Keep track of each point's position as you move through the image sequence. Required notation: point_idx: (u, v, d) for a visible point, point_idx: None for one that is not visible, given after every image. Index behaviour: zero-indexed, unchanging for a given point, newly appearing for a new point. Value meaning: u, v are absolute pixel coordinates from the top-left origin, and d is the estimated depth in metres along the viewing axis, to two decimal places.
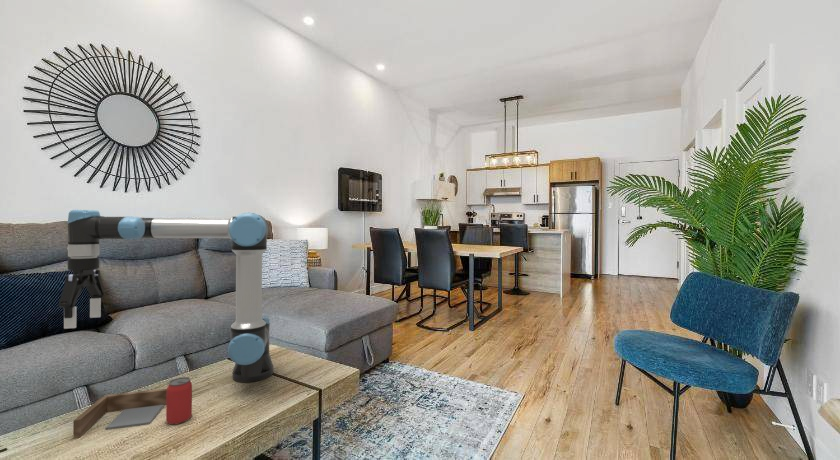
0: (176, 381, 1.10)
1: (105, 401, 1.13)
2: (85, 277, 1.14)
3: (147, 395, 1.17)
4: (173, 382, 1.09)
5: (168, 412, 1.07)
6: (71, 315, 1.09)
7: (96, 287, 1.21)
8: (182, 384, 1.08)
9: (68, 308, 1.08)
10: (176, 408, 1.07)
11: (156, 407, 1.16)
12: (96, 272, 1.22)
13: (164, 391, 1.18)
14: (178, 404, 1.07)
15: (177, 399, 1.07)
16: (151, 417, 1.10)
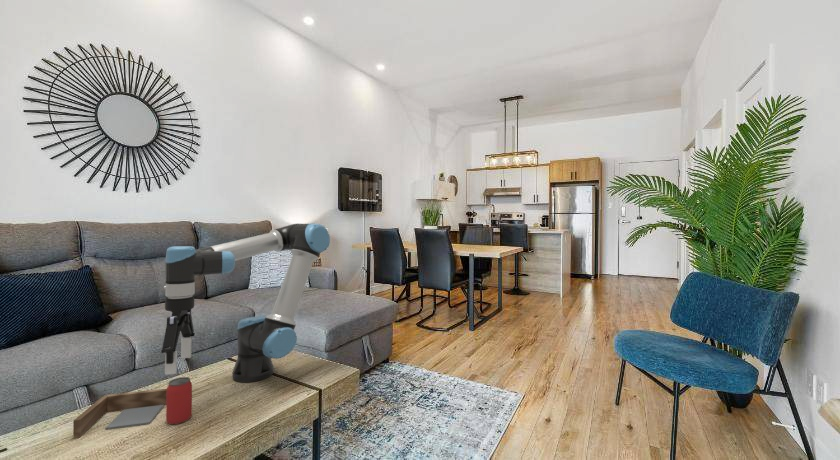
0: (176, 381, 1.10)
1: (105, 401, 1.13)
2: (182, 318, 1.08)
3: (147, 395, 1.17)
4: (173, 382, 1.09)
5: (168, 412, 1.07)
6: (172, 360, 1.03)
7: (188, 326, 1.15)
8: (182, 384, 1.08)
9: (170, 353, 1.02)
10: (176, 408, 1.07)
11: (156, 407, 1.16)
12: (188, 310, 1.15)
13: (164, 391, 1.18)
14: (178, 404, 1.07)
15: (177, 399, 1.07)
16: (151, 417, 1.10)
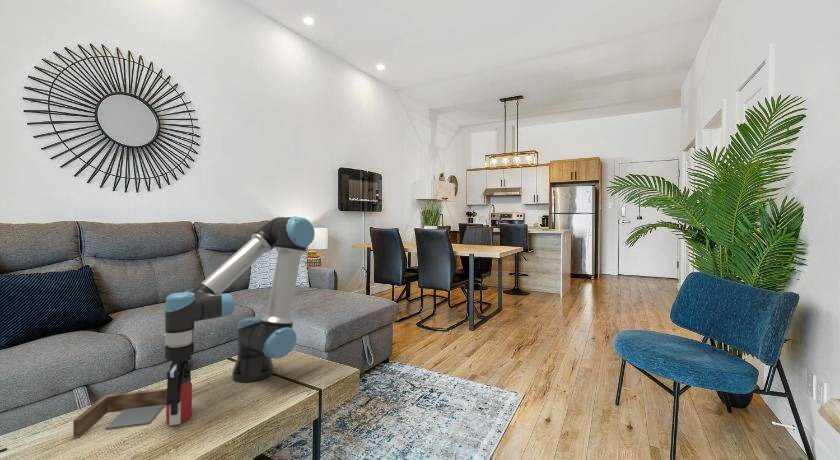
0: None
1: (105, 401, 1.13)
2: (182, 366, 1.08)
3: (147, 395, 1.17)
4: None
5: (168, 412, 1.07)
6: (177, 411, 1.06)
7: (187, 376, 1.13)
8: (182, 384, 1.08)
9: (174, 405, 1.05)
10: None
11: (156, 407, 1.16)
12: (188, 358, 1.15)
13: (164, 391, 1.18)
14: None
15: None
16: (151, 417, 1.10)
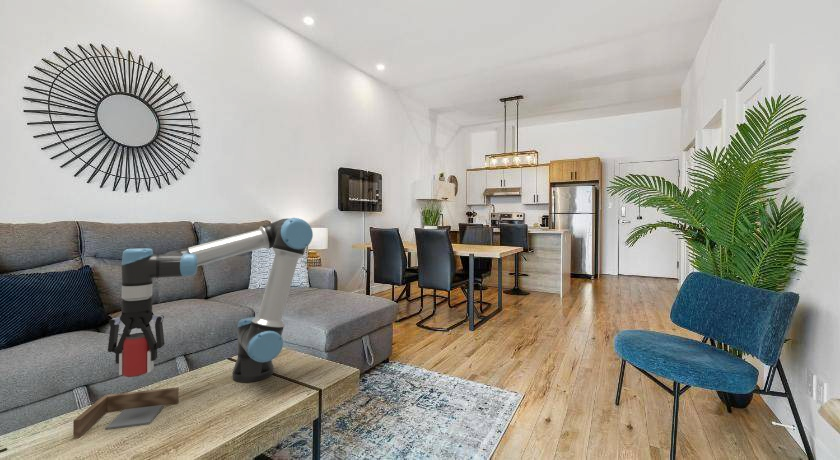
0: (140, 335, 1.12)
1: (105, 401, 1.13)
2: (127, 321, 1.09)
3: (147, 395, 1.17)
4: (139, 334, 1.12)
5: None
6: (118, 361, 1.09)
7: (146, 335, 1.10)
8: (126, 338, 1.09)
9: None
10: None
11: (156, 407, 1.16)
12: None
13: (164, 391, 1.18)
14: (123, 355, 1.09)
15: None
16: (151, 417, 1.10)
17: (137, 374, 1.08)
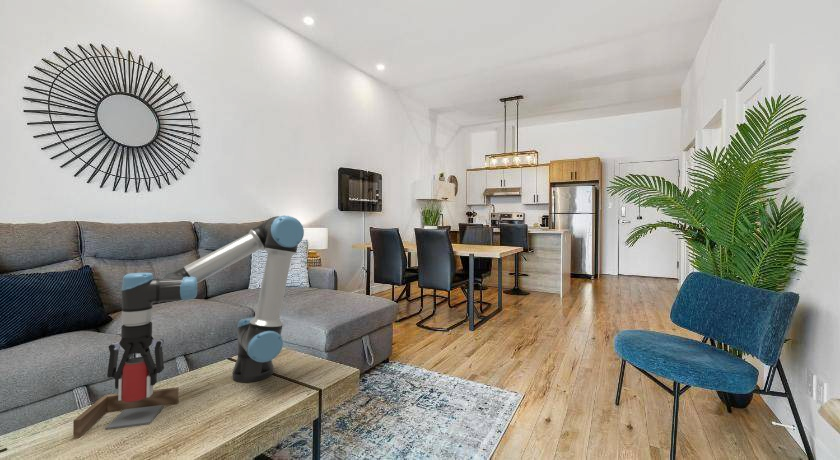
0: (140, 359, 1.12)
1: (105, 401, 1.13)
2: (127, 346, 1.09)
3: None
4: (139, 359, 1.12)
5: None
6: (117, 386, 1.09)
7: (146, 360, 1.10)
8: (125, 363, 1.09)
9: None
10: None
11: (156, 407, 1.16)
12: None
13: (164, 391, 1.18)
14: None
15: None
16: (151, 417, 1.10)
17: (136, 399, 1.08)
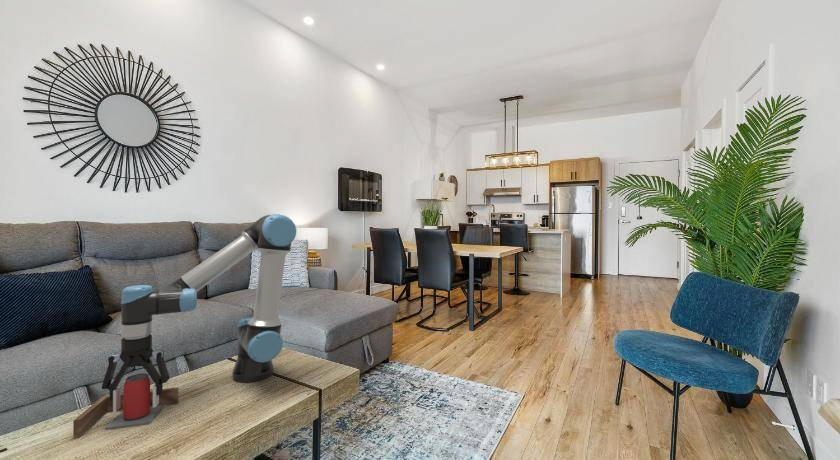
0: (140, 376, 1.12)
1: (105, 401, 1.13)
2: (126, 358, 1.09)
3: None
4: (139, 375, 1.13)
5: None
6: (112, 398, 1.08)
7: (149, 372, 1.11)
8: (126, 380, 1.09)
9: None
10: None
11: (156, 407, 1.16)
12: None
13: (164, 391, 1.18)
14: None
15: None
16: (151, 417, 1.10)
17: (137, 417, 1.09)
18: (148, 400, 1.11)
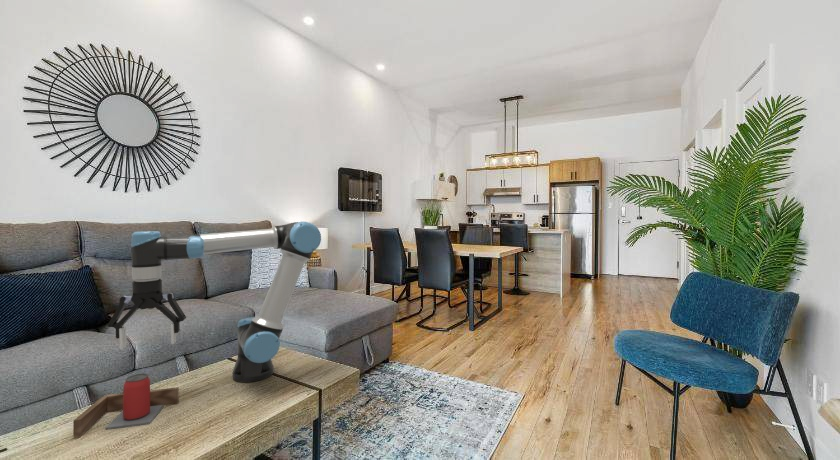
0: (140, 376, 1.12)
1: (105, 401, 1.13)
2: (138, 300, 1.12)
3: None
4: (139, 376, 1.12)
5: None
6: (118, 336, 1.11)
7: (164, 312, 1.15)
8: (126, 380, 1.09)
9: None
10: None
11: (156, 407, 1.16)
12: None
13: (164, 391, 1.18)
14: None
15: None
16: (151, 417, 1.10)
17: (137, 417, 1.09)
18: (148, 400, 1.11)
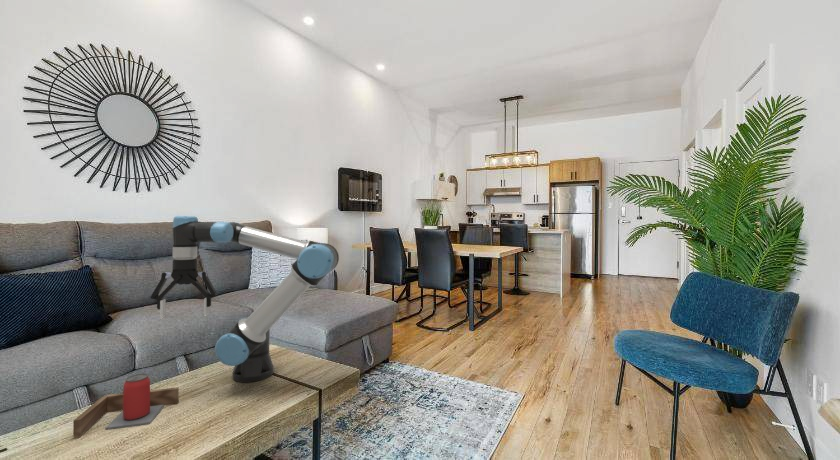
0: (140, 376, 1.12)
1: (105, 401, 1.13)
2: (177, 276, 1.27)
3: None
4: (139, 376, 1.12)
5: None
6: (159, 307, 1.26)
7: (199, 287, 1.30)
8: (126, 380, 1.09)
9: None
10: None
11: (156, 407, 1.16)
12: None
13: (164, 391, 1.18)
14: None
15: None
16: (151, 417, 1.10)
17: (137, 417, 1.09)
18: (148, 400, 1.11)
